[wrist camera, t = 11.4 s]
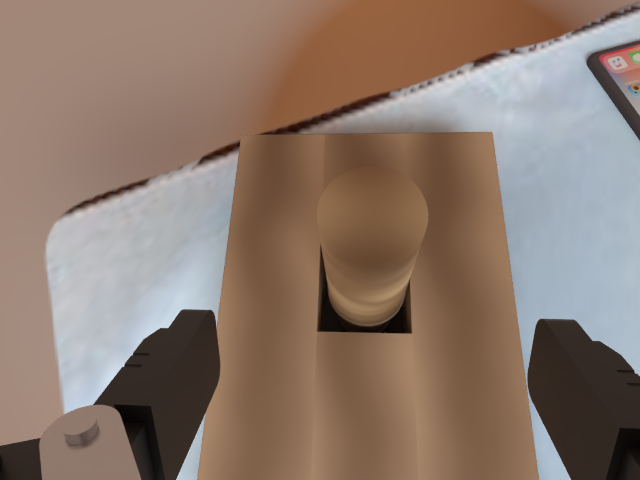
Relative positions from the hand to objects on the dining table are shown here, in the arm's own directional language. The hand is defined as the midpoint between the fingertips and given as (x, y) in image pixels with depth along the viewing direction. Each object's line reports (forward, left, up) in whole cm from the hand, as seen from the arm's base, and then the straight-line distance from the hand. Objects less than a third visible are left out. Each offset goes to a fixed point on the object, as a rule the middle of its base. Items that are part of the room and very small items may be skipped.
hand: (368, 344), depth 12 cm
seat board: (0, -3, -14) cm, 14 cm away
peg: (0, -5, -14) cm, 14 cm away
